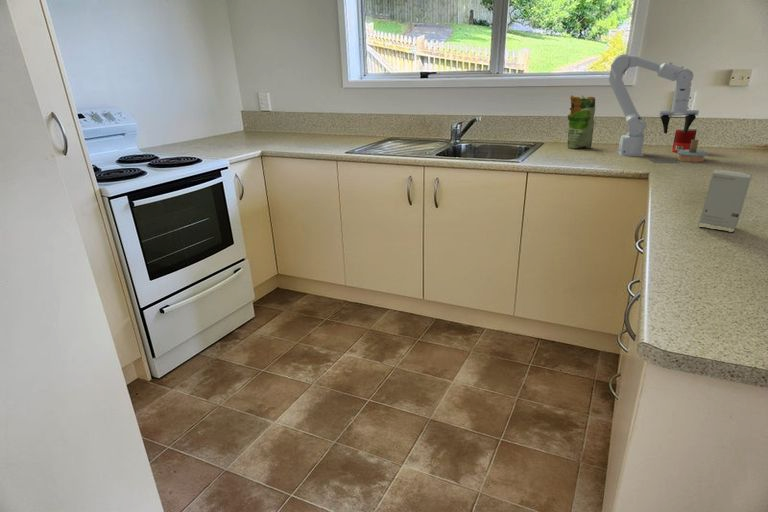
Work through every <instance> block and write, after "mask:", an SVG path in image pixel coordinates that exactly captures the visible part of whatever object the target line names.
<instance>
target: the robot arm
mask: <svg viewBox="0 0 768 512" xmlns="http://www.w3.org/2000/svg"><path fill="white" fill-rule="evenodd" d="M635 67H639V68H643V69H646V70H649V71H652V72H656V73H657V76H658V77H659V78H664V79H665V80H669V81H671V82H676V85H675V88H674V92H673V97H672V104H671V110H660V111H659V112H658V117H660V120H661V122H662V126H663V134H668V131H669V130H668V128H669V123H670V120H671V117H673V116H675V117H676V116H680V117H681V116H685V118H684V120H685V121H684V126H683V127H684V131H683V133H687V131H688V129H689V127H691V125H692V124H693V122H694V121H695V119H696V117H697V116H699V113H700V112H699V110H697V109H695V110H693V109H691V110H690V109H688V106H689V101H690V94H691V89H692V88H691V87H692V80H694V72H693V71H692V70H691V69H689V68H685V67H684V66H678V65H675V64H673V62H671V61H669V62H664V63H658V62H655V61H652V60H649V59H647V58H644V57H641V56H637V55H631V54H627V53H626V54H625V53H623V54H619V55H617V56H616V57H615V58H614V59H613V61H612V63H611V64H610V71H609V77H608V82H609V85H610V86H611V88H612V90H613V93H614V95H615V97H616V100H617V102H618V103H619V106H620V108H621V111H622V112H623V114H624V116H625V122H626V123H627V133H626V134H623V135H621V136H620V139H619V144H618V151H617V153H618V155H620V156H621V157H645V154H643V147H644V141H645V133H644V130H645V129H646V127H647V123H646V120H645V119H643V118H642V117H641V115H640V113H638V111H637V109H636V107H635V105H634V102H633V100H632V98H631V95H630V94H629V91H628V90H627V87H626V85H625V83H624V81H623V80H624V79H623V77H624V75H625V73H626V71H627V70H629V68H635Z"/></svg>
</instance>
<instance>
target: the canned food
mask: <svg viewBox="0 0 768 512" xmlns="http://www.w3.org/2000/svg"><path fill="white" fill-rule="evenodd" d="M697 130H698V128H697V127H694V126H693V127H692V126H690V127H689V129H688V131H687V133H683V131H684V126H678V127H676V129H675V133H674V138H673V144H672V150H671V152H672V153H675V154H678V153H677V151H679V150H689V149H690V144H691V140H696V136H697V135H696V134H697Z"/></svg>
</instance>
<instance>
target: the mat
mask: <svg viewBox="0 0 768 512" xmlns="http://www.w3.org/2000/svg"><path fill="white" fill-rule="evenodd" d="M647 159H648V160H649V161H650V162H652V163H653V164H681V161H678V159H675V158H672V157H647Z"/></svg>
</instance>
